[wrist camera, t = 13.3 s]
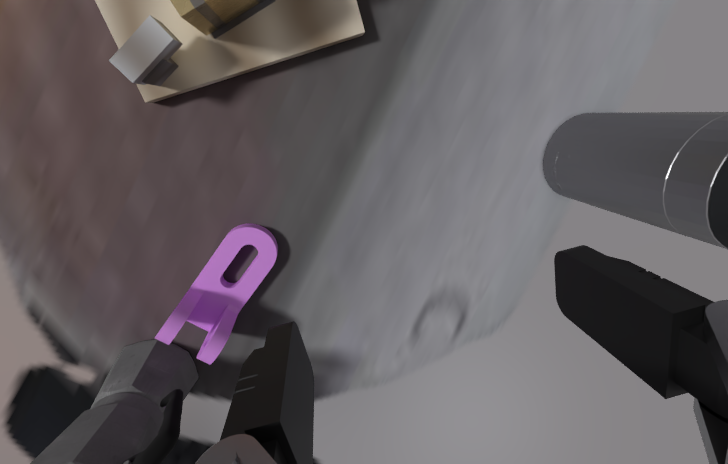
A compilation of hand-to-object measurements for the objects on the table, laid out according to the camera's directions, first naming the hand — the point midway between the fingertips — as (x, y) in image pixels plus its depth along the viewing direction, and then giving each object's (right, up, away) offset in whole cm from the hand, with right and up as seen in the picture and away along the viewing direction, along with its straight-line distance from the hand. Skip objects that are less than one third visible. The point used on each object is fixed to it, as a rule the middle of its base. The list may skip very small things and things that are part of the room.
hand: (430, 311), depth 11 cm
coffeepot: (-25, -13, +30) cm, 41 cm away
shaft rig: (-13, +23, +19) cm, 33 cm away
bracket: (-16, -2, +28) cm, 32 cm away
